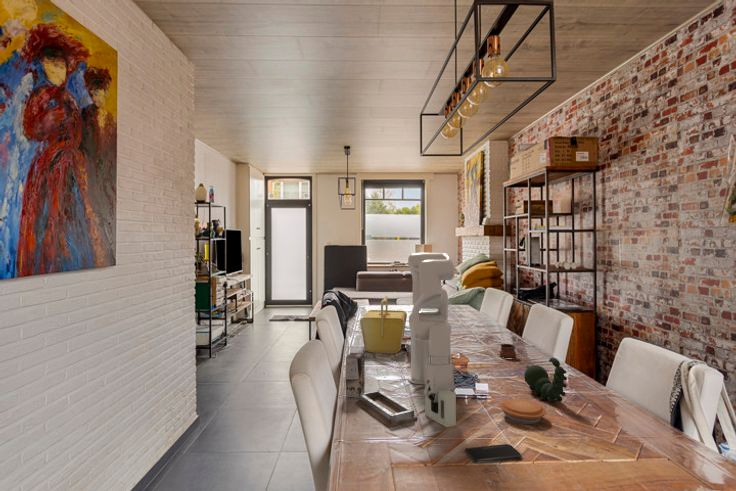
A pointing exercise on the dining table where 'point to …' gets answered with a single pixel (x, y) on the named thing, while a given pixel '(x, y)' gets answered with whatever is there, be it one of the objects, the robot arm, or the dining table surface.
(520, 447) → the dining table surface
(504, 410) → the pie
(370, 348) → the picnic basket
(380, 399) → the grey rectangular tray
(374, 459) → the dining table surface
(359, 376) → the coffee box
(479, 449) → the phone
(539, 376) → the toy figurine
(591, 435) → the dining table surface
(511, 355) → the ceramic pot
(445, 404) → the pale green block
